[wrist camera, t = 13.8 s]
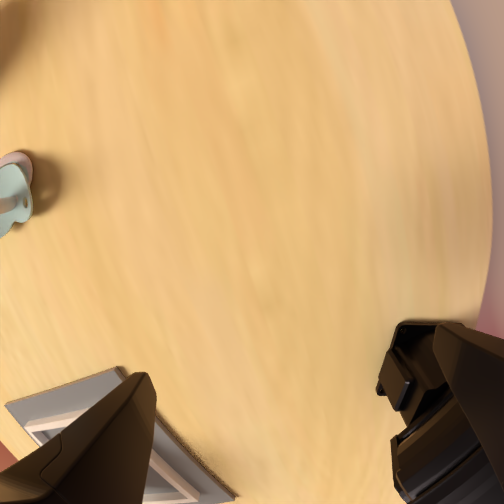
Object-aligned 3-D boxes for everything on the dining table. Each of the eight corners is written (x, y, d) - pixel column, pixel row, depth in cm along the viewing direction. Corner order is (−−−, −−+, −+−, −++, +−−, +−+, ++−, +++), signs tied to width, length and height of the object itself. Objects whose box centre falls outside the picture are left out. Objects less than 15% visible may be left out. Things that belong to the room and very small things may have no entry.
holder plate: (116, 366, 23) (108, 378, 21) (235, 496, 27) (233, 509, 25) (6, 402, 26) (-1, 410, 24) (109, 505, 30) (105, 514, 28)
